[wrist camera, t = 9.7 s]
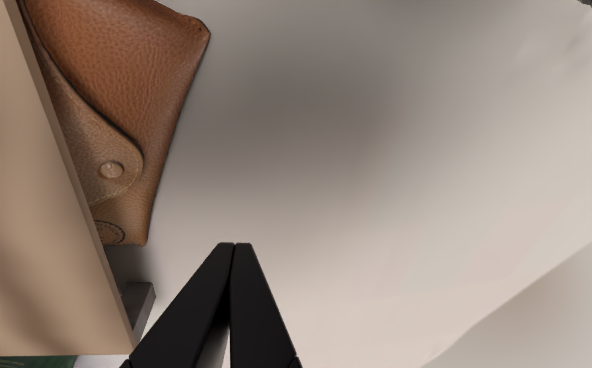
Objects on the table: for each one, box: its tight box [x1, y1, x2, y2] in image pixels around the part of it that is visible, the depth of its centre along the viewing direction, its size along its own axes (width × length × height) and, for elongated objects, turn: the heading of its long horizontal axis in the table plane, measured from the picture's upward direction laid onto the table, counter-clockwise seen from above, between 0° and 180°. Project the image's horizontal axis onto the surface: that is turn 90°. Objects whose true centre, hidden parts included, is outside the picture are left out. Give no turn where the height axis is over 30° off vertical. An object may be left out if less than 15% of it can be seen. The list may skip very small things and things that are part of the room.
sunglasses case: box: [16, 0, 210, 247], centre depth 18 cm, size 18×7×7 cm
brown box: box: [0, 0, 156, 356], centre depth 17 cm, size 10×29×5 cm, turn 175°
